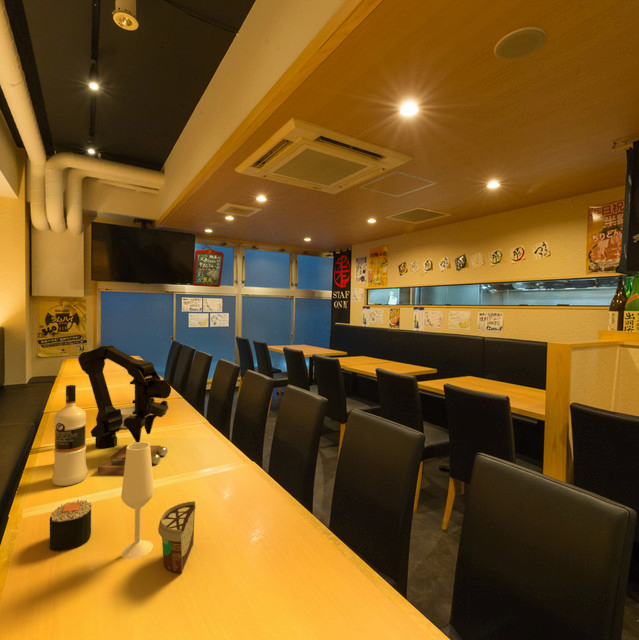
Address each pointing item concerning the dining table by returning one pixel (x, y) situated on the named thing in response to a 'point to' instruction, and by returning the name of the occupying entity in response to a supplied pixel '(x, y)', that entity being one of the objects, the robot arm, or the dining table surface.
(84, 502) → the sushi
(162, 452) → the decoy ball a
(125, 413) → the ramekin
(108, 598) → the dining table surface
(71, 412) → the vodka
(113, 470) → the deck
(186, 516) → the food container
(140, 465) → the champagne flute
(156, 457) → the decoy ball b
